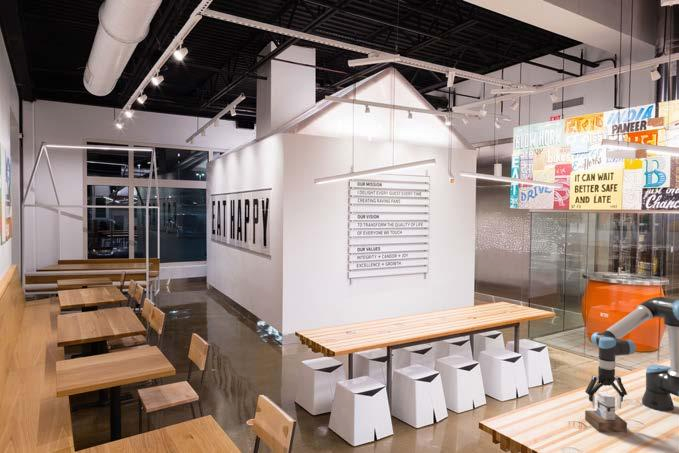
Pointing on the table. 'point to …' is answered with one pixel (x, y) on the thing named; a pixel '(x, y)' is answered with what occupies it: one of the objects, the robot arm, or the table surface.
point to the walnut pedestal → (605, 422)
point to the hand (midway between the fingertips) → (605, 407)
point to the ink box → (606, 405)
